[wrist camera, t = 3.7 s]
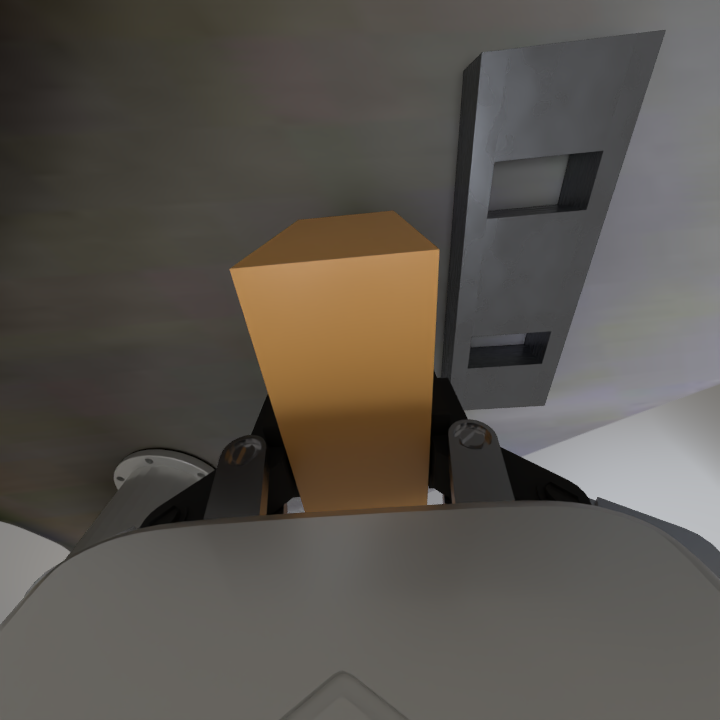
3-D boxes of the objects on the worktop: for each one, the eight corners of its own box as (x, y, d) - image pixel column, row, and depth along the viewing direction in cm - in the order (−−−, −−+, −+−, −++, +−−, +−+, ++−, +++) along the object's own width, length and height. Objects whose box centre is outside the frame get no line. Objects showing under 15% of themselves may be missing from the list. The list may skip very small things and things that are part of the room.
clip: (399, 423, 19) (424, 566, 12) (335, 428, 19) (323, 571, 12) (393, 210, 12) (439, 249, 6) (298, 219, 13) (229, 268, 6)
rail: (528, 383, 28) (544, 405, 25) (440, 389, 28) (447, 411, 25) (617, 52, 16) (665, 29, 13) (463, 70, 16) (482, 52, 14)
